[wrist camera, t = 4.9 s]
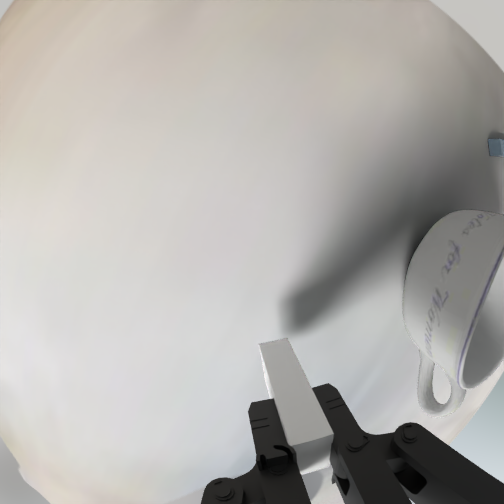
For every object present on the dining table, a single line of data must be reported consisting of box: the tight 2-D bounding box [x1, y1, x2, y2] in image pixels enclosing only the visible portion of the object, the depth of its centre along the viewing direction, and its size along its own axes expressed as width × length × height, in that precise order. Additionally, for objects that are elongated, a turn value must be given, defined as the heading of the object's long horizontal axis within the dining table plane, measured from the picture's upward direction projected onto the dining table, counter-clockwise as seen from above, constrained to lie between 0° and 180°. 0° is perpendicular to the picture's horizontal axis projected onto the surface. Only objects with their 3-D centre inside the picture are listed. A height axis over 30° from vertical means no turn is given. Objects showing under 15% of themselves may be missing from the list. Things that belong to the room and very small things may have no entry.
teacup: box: [403, 210, 504, 418], centre depth 13 cm, size 14×11×8 cm
